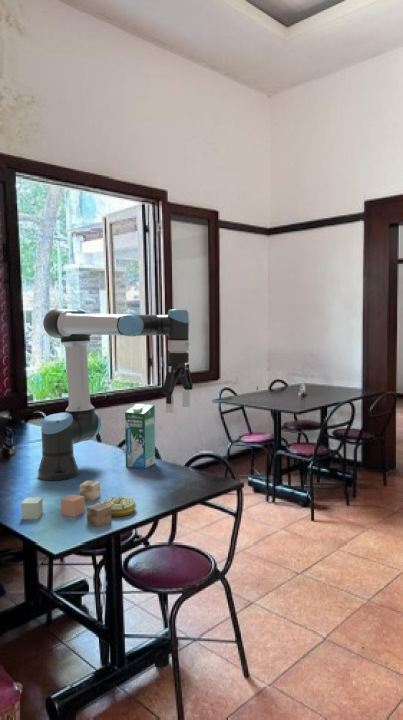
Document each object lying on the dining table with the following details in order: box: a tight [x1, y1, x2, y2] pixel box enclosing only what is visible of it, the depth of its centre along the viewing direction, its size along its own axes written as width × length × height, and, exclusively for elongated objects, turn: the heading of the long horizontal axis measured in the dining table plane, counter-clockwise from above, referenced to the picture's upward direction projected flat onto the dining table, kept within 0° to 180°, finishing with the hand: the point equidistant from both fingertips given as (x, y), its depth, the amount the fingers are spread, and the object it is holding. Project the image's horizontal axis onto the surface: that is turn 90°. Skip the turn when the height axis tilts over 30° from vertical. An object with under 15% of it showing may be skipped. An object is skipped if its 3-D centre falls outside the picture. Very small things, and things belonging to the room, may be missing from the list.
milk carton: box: [124, 403, 156, 470], centre depth 212 cm, size 9×9×25 cm
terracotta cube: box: [60, 494, 86, 518], centre depth 160 cm, size 5×5×5 cm
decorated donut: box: [101, 496, 137, 518], centre depth 161 cm, size 10×11×4 cm
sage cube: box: [20, 497, 44, 520], centre depth 157 cm, size 5×5×5 cm
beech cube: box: [79, 480, 101, 501], centre depth 174 cm, size 5×5×5 cm
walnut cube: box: [86, 502, 112, 528], centre depth 152 cm, size 5×5×5 cm
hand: (178, 409), depth 188 cm, fingers open, 13 cm apart
